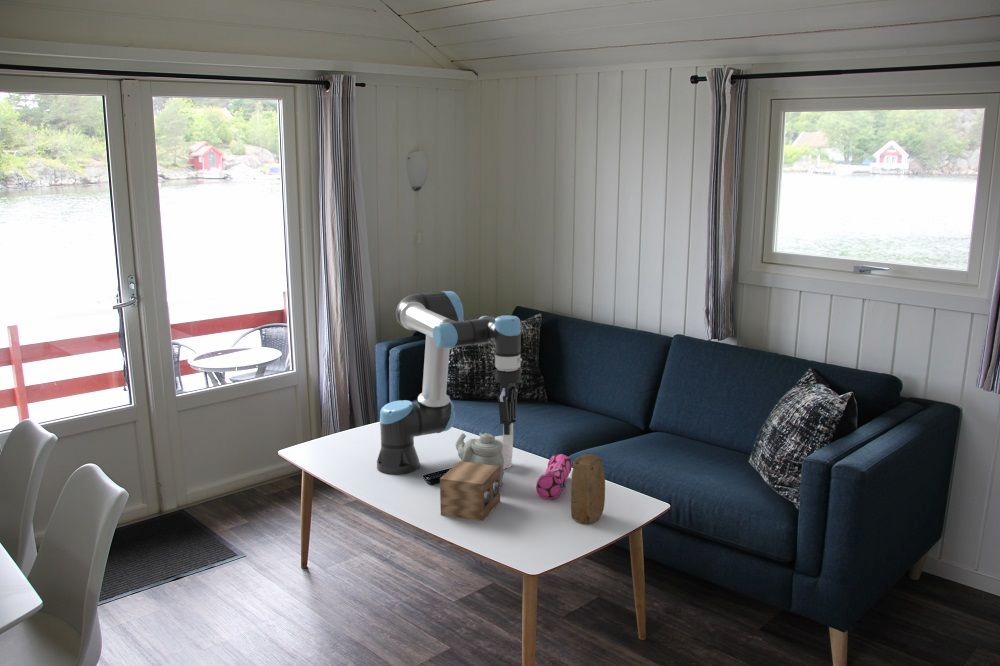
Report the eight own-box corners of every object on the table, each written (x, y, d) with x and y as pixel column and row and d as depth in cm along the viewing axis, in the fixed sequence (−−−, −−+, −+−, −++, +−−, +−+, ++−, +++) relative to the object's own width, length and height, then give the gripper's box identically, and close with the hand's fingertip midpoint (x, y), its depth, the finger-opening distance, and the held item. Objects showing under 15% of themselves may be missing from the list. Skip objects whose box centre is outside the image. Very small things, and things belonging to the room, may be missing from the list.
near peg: (444, 500, 270) (443, 488, 269) (448, 495, 273) (448, 484, 272) (486, 506, 265) (485, 494, 264) (490, 501, 269) (490, 489, 268)
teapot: (455, 476, 301) (454, 424, 297) (498, 473, 303) (498, 421, 299) (461, 494, 285) (460, 440, 281) (506, 490, 287) (506, 437, 283)
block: (588, 527, 259) (589, 464, 255) (567, 520, 264) (568, 458, 260) (608, 515, 268) (609, 454, 263) (588, 509, 272) (589, 449, 268)
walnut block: (440, 514, 269) (439, 478, 266) (459, 495, 283) (459, 461, 281) (482, 520, 264) (482, 484, 262) (500, 501, 279) (499, 466, 276)
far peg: (453, 490, 277) (453, 479, 276) (458, 486, 281) (458, 475, 280) (494, 496, 272) (494, 484, 272) (498, 491, 276) (498, 480, 275)
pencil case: (565, 502, 278) (565, 473, 276) (535, 500, 280) (535, 470, 278) (573, 478, 298) (574, 450, 296) (546, 476, 301) (546, 448, 298)
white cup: (513, 462, 314) (513, 435, 312) (512, 469, 306) (512, 443, 304) (492, 461, 314) (492, 435, 312) (490, 469, 307) (489, 442, 305)
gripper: (512, 374, 248) (513, 452, 253) (526, 363, 260) (526, 438, 265) (488, 372, 251) (489, 449, 256) (503, 362, 263) (503, 435, 268)
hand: (508, 443), depth 261 cm, fingers closed
